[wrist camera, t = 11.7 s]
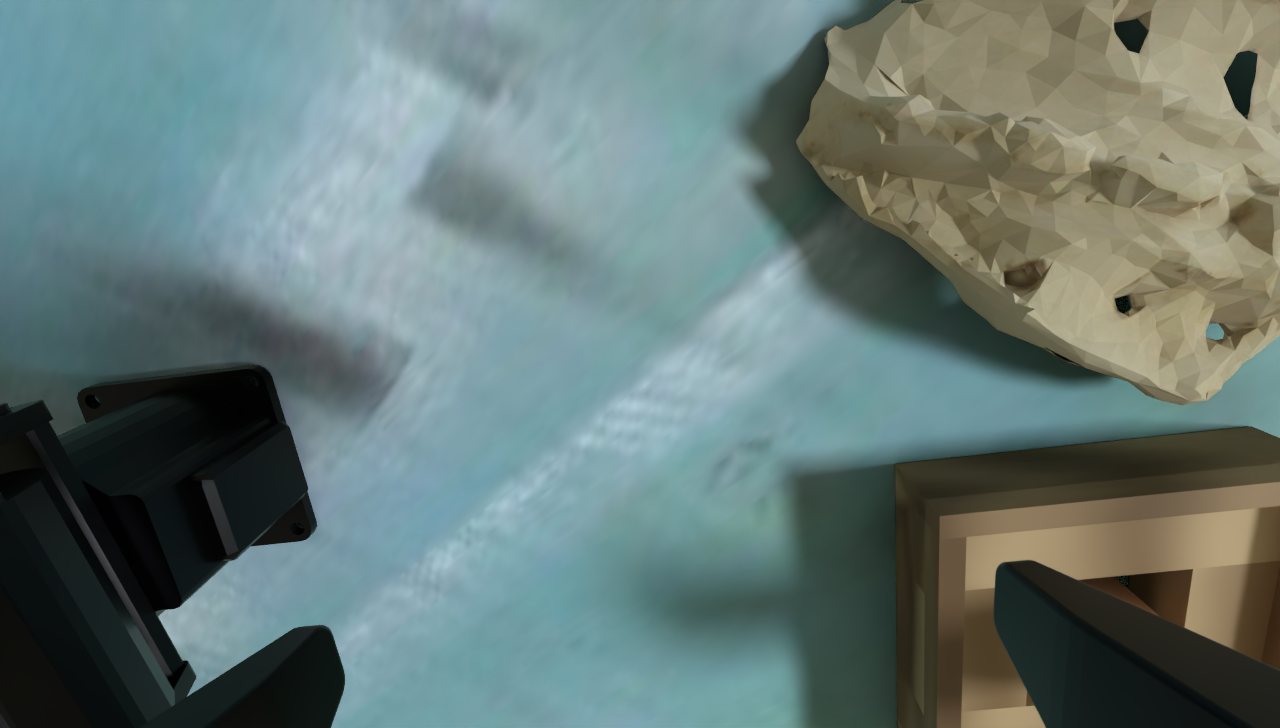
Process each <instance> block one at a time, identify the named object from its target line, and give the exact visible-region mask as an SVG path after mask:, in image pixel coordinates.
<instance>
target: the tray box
mask: <svg viewBox="0 0 1280 728" xmlns="http://www.w3.org/2000/svg"><path fill="white" fill-rule="evenodd" d="M895 501H896V630H897V728H1046V727H1045V725H1044V723H1043V721H1042V719H1041V717H1040V715H1039V713H1038V711H1037V709H1036V708H1035V706H1034V704H1033V702H1032V700H1031V698H1030V696H1029V694H1028V692H1027V690H1026V688H1025V686H1024V684H1023V682H1022V680H1021V678H1020V676H1019V674H1018V673H1017V671H1016V669H1015V667H1014V665H1013V663H1012V661H1011V659H1010V657H1009V655H1008V653H1007V651H1006V649H1005V647H1004V645H1003V643H1002V641H1001V639H1000V637H999V635H998V633H997V630H996V627H995V623H994V614H993V613H994V592H995V574H996V569H997V567H998V565H1000V564H1001V563H1003V562H1010V561H1021V560H1033V561H1036V562H1038V563H1041V564H1043V565H1045V566H1047V567H1050V568H1052V569H1054V570H1056V571H1059V572H1061V573H1063V574H1065V575H1068V576H1070V577H1072V578H1074V579H1077V580H1082V579H1093V578H1103V577H1114V576H1124V575H1130V577H1129V585H1128V589H1129V590H1130V591H1131V592H1132V593H1133V594H1135V595H1136V596H1137V597H1138V598H1139V599H1140V600H1142V601H1143V602H1144V603H1145V604H1146V605H1147V606H1148V607H1150V608H1151V609H1152V610H1153V611H1154V612H1155V613H1157V614H1158V615H1159V616H1160V617H1162V618H1164V619H1166V620H1169V621H1171V622H1173V623H1175V624H1178V625H1180V626H1182V627H1184V628H1187V629H1189V630H1191V631H1193V632H1196V633H1198V634H1200V635H1202V636H1205V637H1207V638H1209V639H1211V640H1214V641H1216V642H1218V643H1220V644H1223V645H1225V646H1227V647H1229V648H1231V649H1234V650H1236V651H1238V652H1240V653H1243V654H1245V655H1247V656H1249V657H1252V658H1254V659H1256V660H1258V661H1261V662H1263V663H1265V664H1267V665H1270V666H1272V667H1274V668H1276V669H1279V670H1280V438H1278V437H1276V436H1273V435H1271V434H1268V433H1266V432H1264V431H1261V430H1259V429H1256V428H1254V427H1242V428H1233V429H1223V430H1214V431H1204V432H1195V433H1185V434H1176V435H1166V436H1157V437H1147V438H1138V439H1128V440H1119V441H1109V442H1100V443H1090V444H1081V445H1071V446H1062V447H1052V448H1043V449H1033V450H1024V451H1014V452H1005V453H996V454H986V455H977V456H967V457H958V458H948V459H939V460H929V461H920V462H910V463H901V464H895Z"/></svg>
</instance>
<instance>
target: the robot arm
mask: <svg viewBox="0 0 1280 728" xmlns="http://www.w3.org/2000/svg"><path fill="white" fill-rule="evenodd" d="M250 376H253V377H254V378H256V379H257V381H258V386H255V385H254V384H252V382H251V380H250ZM95 396H96V397H98V399H99V400H100V403H99V402H97V400H96V399H95ZM77 399H78V404H79V406H80V409H81V411H82V413H83V416H84V418H85V421H86V424H84V425H81V426H79V427H77V428H75V429H72V430H70V431H68V432H66V433H63V434H61V435H59V436H57V435H56V434H55V432H54V430H53V428H52V426H51V425H50V423H49V421H51V420H53V418H52V416H51V414H50V412H49V410H48V409H47V407H46V405H45V403H44V401H43V400H39V401H35V402H31V403H27V404H23V405H19V406H15V407H11V408H9V406H8V404H7V403H4V404H0V728H331V726H332V723H333V720H334V717H335V714H336V712H337V709H338V706H339V703H340V700H341V697H342V694H343V691H344V686H345V674H344V669H343V666H342V663H341V660H340V656H339V653H338V650H337V647H336V644H335V640H334V637H333V634H332V632H331V630H330V629H329V628H328V627H327V626H324V625H315V626H304V627H297V628H294V629H292V630H291V631H289V632H288V633H286V634H284V635H283V636H281V637H280V638H278V639H277V640H275V641H274V642H272V643H270V644H269V645H267V646H266V647H264V648H263V649H261V650H259V651H258V652H256V653H255V654H253V655H252V656H250V657H249V658H247V659H245V660H244V661H242V662H241V663H239V664H238V665H236V666H234V667H233V668H231V669H230V670H228V671H227V672H225V673H224V674H222V675H220V676H219V677H217V678H216V679H214V680H213V681H211V682H210V683H208V684H206V685H205V686H203V687H202V688H200V689H199V690H197V691H195V692H194V693H192V694H191V695H189V696H188V697H187V695H188V693H189V691H190V689H191V687H192V685H193V683H194V681H195V679H196V675H195V673H194V671H193V669H192V668H191V666H190V664H189V662H188V661H182V659H181V657H180V655H179V654H178V652H177V650H176V648H175V646H174V645H173V643H172V641H171V639H170V638H169V636H168V634H167V632H166V630H165V629H164V627H163V625H162V623H161V621H160V620H159V618H158V616H159V615H160V614H161V613H163V612H164V611H165V610H167V609H175V608H178V607H180V606H181V605H182V604H183V603H184V602H185V601H186V600H188V599H189V598H190V597H191V596H192V595H193V594H194V593H195V592H196V591H197V590H198V589H200V588H201V587H202V586H203V585H204V584H205V583H206V582H207V581H208V580H209V579H210V578H211V577H213V576H214V575H215V574H216V573H217V572H218V571H219V570H220V569H221V568H222V567H223V566H224V565H226V564H227V563H228V562H229V561H231V560H235V559H237V558H238V557H239V556H240V555H241V554H242V553H244V552H245V551H246V550H247V549H248V548H249V547H250V546H259V545H268V544H278V543H287V542H297V541H303V540H306V539H307V538H308V537H309V536H310V535H311V534H312V533H313V532H314V531H315V530H316V527H317V522H316V518H315V515H314V512H313V509H312V505H311V502H310V499H309V496H308V492H307V491H308V486H307V483H306V479H305V476H304V473H303V470H302V466H301V463H300V460H299V457H298V453H297V450H296V447H295V444H294V440H293V437H292V434H291V430H290V428H289V426H288V425H287V424H286V421H285V418H284V414H283V411H282V408H281V405H280V401H279V398H278V395H277V392H276V388H275V385H274V382H273V379H272V376H271V374H270V373H269V372H268V371H267V370H266V369H265V368H263V367H261V366H256V365H252V366H244V367H235V368H227V369H218V370H210V371H202V372H193V373H185V374H176V375H168V376H159V377H151V378H143V379H134V380H126V381H117V382H109V383H100V384H95V385H92V386H90V387H87V388H84V389H82V390H81V391H80V392H79V393H78V397H77ZM296 523H300V524H301V525H303V527H304V529H301V528H299V527H298V526H297V524H296ZM993 614H994V623H995V627H996V630H997V633H998V635H999V637H1000V639H1001V641H1002V643H1003V645H1004V647H1005V649H1006V651H1007V653H1008V655H1009V657H1010V659H1011V661H1012V663H1013V665H1014V667H1015V669H1016V671H1017V673H1018V674H1019V676H1020V678H1021V680H1022V682H1023V684H1024V686H1025V688H1026V690H1027V692H1028V694H1029V696H1030V698H1031V700H1032V702H1033V704H1034V706H1035V708H1036V709H1037V711H1038V713H1039V715H1040V717H1041V719H1042V721H1043V723H1044V725H1045V727H1046V728H1280V670H1279V669H1276V668H1274V667H1272V666H1270V665H1267V664H1265V663H1263V662H1261V661H1258V660H1256V659H1254V658H1252V657H1249V656H1247V655H1245V654H1243V653H1240V652H1238V651H1236V650H1234V649H1231V648H1229V647H1227V646H1225V645H1223V644H1220V643H1218V642H1216V641H1214V640H1211V639H1209V638H1207V637H1205V636H1202V635H1200V634H1198V633H1196V632H1193V631H1191V630H1189V629H1187V628H1184V627H1182V626H1180V625H1178V624H1175V623H1173V622H1171V621H1169V620H1166V619H1164V618H1162V617H1160V616H1157V615H1155V614H1153V613H1151V612H1148V611H1146V610H1144V609H1142V608H1139V607H1137V606H1135V605H1133V604H1130V603H1128V602H1126V601H1124V600H1122V599H1119V598H1117V597H1115V596H1113V595H1110V594H1108V593H1106V592H1104V591H1101V590H1099V589H1097V588H1095V587H1092V586H1090V585H1088V584H1086V583H1083V582H1081V581H1079V580H1077V579H1074V578H1072V577H1070V576H1068V575H1065V574H1063V573H1061V572H1059V571H1056V570H1054V569H1052V568H1050V567H1047V566H1045V565H1043V564H1041V563H1038V562H1036V561H1033V560H1021V561H1010V562H1003V563H1001V564H1000V565H998V567H997V569H996V574H995V592H994V613H993Z"/></svg>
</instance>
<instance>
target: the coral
mask: <svg viewBox="0 0 1280 728" xmlns="http://www.w3.org/2000/svg"><path fill="white" fill-rule="evenodd" d="M1134 19H1138V20H1139V21H1140V22H1141V23H1142V24H1143V25H1144V26H1145V28H1146V29H1147V30H1148V33H1147V36H1146V38H1145V40H1144V43H1143V45H1142V48H1141V50H1140V52H1139V53H1135V52H1131V51H1128V50H1127V49H1126V47H1125V46H1124V45H1123V43H1122V42H1121V40H1120V39H1119V38H1118V36H1117V35H1116V33H1115V31H1114V23H1115V22H1122V21H1128V20H1134ZM824 41H825V43H826V46H827V49H828V57H829V67H828V70H827V73H826V76H825V79H824V81H823V83H822V84H821V86H820V88H819V89H818V91H817V93H816V95H815V96H814V98H813V100H812V102H811V108H810V116H809V121H808V123H807V124H806V126H805V128H804V129H803V131H802V132H801V134H800V136H799V137H798V139H797V140H796V143H797V146H798V148H799V150H800V152H801V154H802V155H803V156H804V157H805V158H806V159H807V160H808V161H809V162H810V163H811V165H812V166H813V167H814V169H815V170H816V172H817V173H818V174H819V176H820V177H821V179H822V180H823V181H824V183H825V184H826V185H827V186H828V187H829V188H830V189H831V190H832V191H833V192H834V193H835V194H836V195H837V196H838V197H840V198H841V199H842V200H843V201H844V202H845V203H846V204H847V205H848V206H849V207H850V208H851V209H852V210H853V211H854V212H855V213H856V214H857V215H859V216H860V217H861V218H862V219H864V220H866V221H868V222H870V223H872V224H874V225H876V226H878V227H880V228H882V229H884V230H885V231H887V232H889V233H891V234H893V235H895V236H897V237H899V238H901V239H903V240H904V241H906V242H907V243H908V244H909V245H910V246H911V247H912V248H914V249H915V250H916V251H917V252H918V253H919V254H920V255H922V256H923V257H924V258H925V259H926V260H927V261H928V262H929V263H931V264H932V265H933V266H934V267H935V268H936V269H937V270H939V271H940V272H941V273H942V274H943V275H944V276H945V277H947V278H948V279H949V280H950V281H951V283H952V284H953V286H954V288H955V289H956V291H957V292H958V294H959V296H960V297H961V299H962V300H963V302H964V303H966V304H967V305H968V306H969V307H971V308H972V309H973V310H974V311H976V312H977V313H978V314H980V315H981V316H982V317H983V318H985V319H986V320H987V321H988V322H989V323H990V324H991V325H992V326H993V327H995V328H996V329H997V330H999V331H1002V332H1004V333H1007V334H1009V335H1012V336H1014V337H1017V338H1019V339H1022V340H1024V341H1027V342H1029V343H1032V344H1034V345H1036V346H1039V347H1041V348H1044V349H1045V350H1047V351H1048V352H1050V353H1052V354H1053V355H1055V356H1057V357H1058V358H1060V359H1062V360H1063V361H1065V362H1068V363H1071V364H1074V365H1078V366H1081V367H1084V368H1087V369H1090V370H1093V371H1096V372H1099V373H1102V374H1105V375H1109V376H1112V377H1115V378H1119V379H1122V380H1125V381H1128V382H1130V383H1131V384H1132V385H1134V386H1135V387H1136V388H1137V389H1139V390H1140V391H1141V392H1143V393H1144V394H1145V395H1147V396H1150V397H1153V398H1155V399H1158V400H1162V401H1166V402H1170V403H1175V404H1179V405H1185V404H1190V403H1195V402H1201V401H1206V400H1209V398H1210V397H1211V396H1213V395H1214V394H1215V393H1217V392H1218V391H1219V390H1221V389H1222V384H1223V383H1224V382H1226V381H1227V380H1228V379H1229V378H1230V377H1231V376H1232V375H1233V374H1234V373H1235V372H1236V371H1237V370H1238V369H1239V368H1240V366H1241V365H1242V364H1243V363H1244V362H1245V361H1247V360H1249V359H1250V358H1252V357H1253V356H1255V355H1256V354H1257V353H1258V352H1260V351H1261V350H1262V349H1263V348H1265V347H1266V346H1267V345H1268V344H1269V343H1271V342H1272V341H1273V340H1274V339H1275V338H1277V337H1278V336H1279V335H1280V0H922V1H919V2H916V3H913V4H909V3H902V2H901V0H895V1H893V2H892V3H890V4H889V5H888V6H887V7H885V8H884V9H883V10H882V11H880V12H879V13H878V14H877V15H875V16H874V17H873V18H872V19H870V20H869V21H867V22H864V23H861V24H859V25H856V26H853V27H851V28H849V29H848V30H843V29H841V28H840V27H838V26H835V27H834V28H832V29H831V30H829V31H828V33H827V34H826V36H825V38H824ZM1248 50H1249V51H1252V52H1255V53H1257V54H1258V57H1257V67H1256V76H1255V81H1254V84H1253V88H1252V92H1251V102H1250V110H1249V114H1248V115H1246V116H1244V117H1243V116H1242V115H1241V114H1240V113H1239V111H1238V110H1237V109H1236V108H1235V106H1234V104H1233V101H1232V99H1231V96H1230V94H1229V91H1228V88H1227V86H1226V83H1225V81H1224V78H1223V77H1224V76H1225V74H1226V72H1227V70H1228V68H1229V67H1230V65H1231V63H1232V61H1233V60H1234V58H1235V56H1236V54H1237V53H1238V52H1243V51H1248ZM1125 295H1127V297H1128V301H1129V305H1130V311H1127V312H1126V313H1124V314H1123V313H1121V312H1119V311H1118V310H1117V307H1116V303H1115V298H1118V297H1122V296H1125ZM1209 323H1218V324H1219V325H1220V326H1221V328H1222V329H1223V330H1224V337H1223V339H1220V340H1213V339H1210V338H1206V329H1207V327H1208V324H1209ZM1226 334H1227V335H1226ZM1227 336H1228V337H1227Z"/></svg>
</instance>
